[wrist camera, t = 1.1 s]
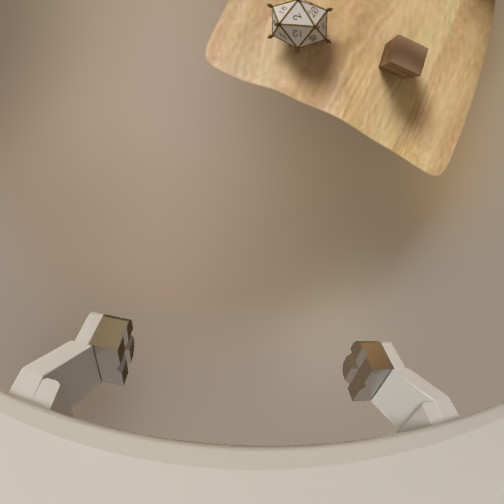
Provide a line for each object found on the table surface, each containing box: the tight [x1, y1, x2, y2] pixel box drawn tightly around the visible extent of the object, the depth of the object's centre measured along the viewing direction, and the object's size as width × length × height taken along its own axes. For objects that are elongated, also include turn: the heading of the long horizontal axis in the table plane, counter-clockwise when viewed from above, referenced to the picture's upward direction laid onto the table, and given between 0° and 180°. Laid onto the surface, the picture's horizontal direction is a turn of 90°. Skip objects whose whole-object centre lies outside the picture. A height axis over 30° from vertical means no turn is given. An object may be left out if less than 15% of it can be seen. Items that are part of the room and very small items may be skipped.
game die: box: [267, 0, 333, 54], centre depth 30 cm, size 9×8×10 cm
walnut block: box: [379, 35, 428, 78], centre depth 29 cm, size 4×4×8 cm
